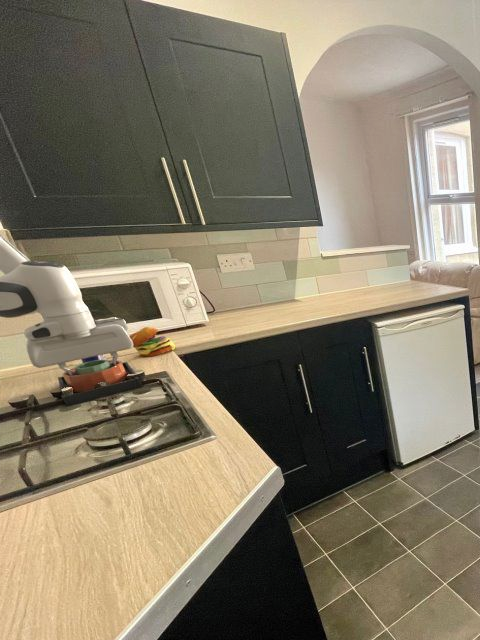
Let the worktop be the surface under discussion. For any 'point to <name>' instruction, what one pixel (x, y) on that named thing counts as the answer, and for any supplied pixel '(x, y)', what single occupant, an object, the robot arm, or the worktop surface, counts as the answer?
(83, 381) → the big bowl
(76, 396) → the tray
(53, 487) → the worktop surface
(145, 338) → the cheeseburger
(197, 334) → the worktop surface
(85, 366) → the small bowl
